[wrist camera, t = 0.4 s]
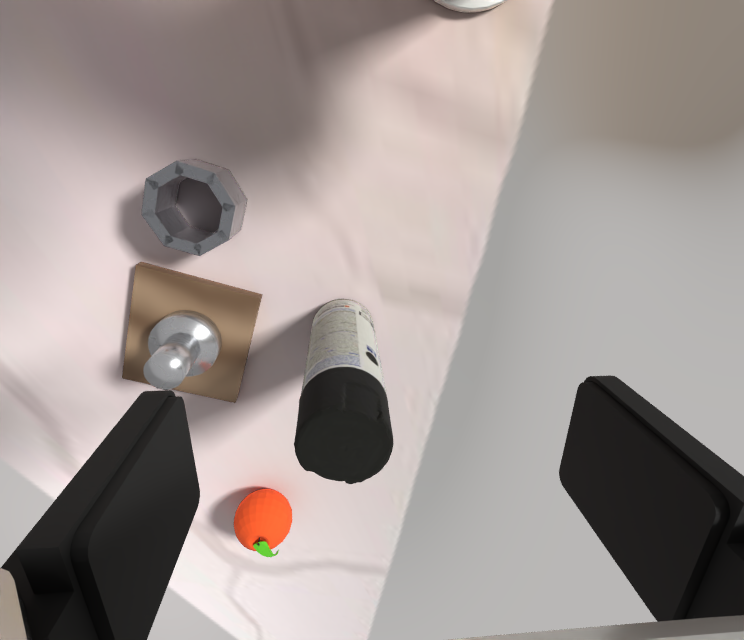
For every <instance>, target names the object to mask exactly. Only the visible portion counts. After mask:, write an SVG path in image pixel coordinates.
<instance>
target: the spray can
mask: <svg viewBox="0 0 744 640" xmlns="http://www.w3.org/2000/svg"><path fill="white" fill-rule="evenodd" d="M294 446H295V453H296V456H297V459H298V461H299V463H300V465H301V466H302V467H303V468H304V469H305V470H306V471H312V472H315V473H316V474H318V475H319V476H321V477H323V478H326V479H330V480H335V481H345V482H346V483H348V484H353V483H357V482H362V481H364V480H366V479H368V478H370V477H372V476H373V475H375V474H377V473H378V472H379V471H380V470H381V469H382V468H383V467H384V466H385V464H386V463H387V462H388V460H389V458H390V455H391V452H392V448H393V435H392V428H391V422H390V415H389V408H388V400H387V396H386V390H385V385H384V379H383V374H382V368H381V363H380V358H379V352H378V347H377V341H376V337H375V331H374V326H373V321H372V319H371V316H370V314H369V312H368V310H367V309H365V308H364V307H363V306H362V305H361V304H359V303H357V302H355V301H352V300H347V299H338V300H333V301H331V302H329V303H327V304H325V305H324V306H323V307H322V308H321V309H320V310H319V311H318V312H317V314H316V315H315V317H314V320H313V324H312V330H311V336H310V342H309V348H308V355H307V361H306V367H305V373H304V380H303V386H302V392H301V397H300V400H299V412H298V421H297V428H296V436H295V442H294Z"/></svg>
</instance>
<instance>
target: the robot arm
mask: <svg viewBox="0 0 744 640" xmlns="http://www.w3.org/2000/svg"><path fill="white" fill-rule="evenodd" d="M434 1H435V2H436V3H438V4H440V5H442V6H444V7H446V8H448V9H451V10H455V11H459V12H480V11H485V10H489V9H492V8H494V7H496V6H498V5H500V4H502V3H504V2H506V1H507V0H434ZM559 476H560V480H561V483H562V485H563V487H564V488H565V490H566V491H567V493H568V494H569V496H570V497H571V498H572V500H573V501H574V503H575V504H576V506H577V507H578V509H579V510H580V511H581V513H582V514H583V516H584V517H585V519H586V520H587V521H588V523H589V524H590V526H591V527H592V529H593V530H594V532H595V533H596V534H597V536H598V537H599V539H600V540H601V542H602V543H603V544H604V546H605V547H606V549H607V550H608V551H609V553H610V554H611V556H612V557H613V559H614V560H615V562H616V563H617V565H618V566H619V567H620V569H621V570H622V571H623V573H624V574H625V576H626V577H627V579H628V580H629V582H630V583H631V584H632V586H633V587H634V589H635V590H636V592H637V593H638V595H639V596H640V598H641V599H642V600H643V602H644V603H645V605H646V606H647V608H648V609H649V610H650V612H651V613H652V615H653V616H654V617H655V618H656V620H657V621H658V622H649V623H638V624H637V623H636V624H625V625H613V626H600V627H588V628H576V629H564V630H553V631H542V632H531V633H530V632H529V633H518V634H507V635H495V636H484V637H473V638H461V639H451V640H744V476H743V475H742V474H740V473H739V472H738V471H736V470H735V469H734V468H733V467H731V466H730V465H729V464H727V463H726V462H725V461H724V460H722V459H721V458H720V457H718V456H717V455H716V454H715V453H713V452H712V451H711V450H709V449H708V448H707V447H706V446H704V445H703V444H702V443H700V442H699V441H698V440H697V439H695V438H694V437H693V436H691V435H690V434H689V433H688V432H686V431H685V430H684V429H683V428H681V427H680V426H679V425H677V424H676V423H675V422H674V421H672V420H671V419H670V418H668V417H667V416H666V415H665V414H663V413H662V412H661V411H659V410H658V409H657V408H656V407H654V406H653V405H652V404H650V403H649V402H648V401H647V400H645V399H644V398H643V397H641V396H640V395H639V394H637V393H636V392H635V391H634V390H633V389H631V388H630V387H629V386H627V385H626V384H625V383H624V382H622V381H621V380H620V379H618V378H617V377H615V376H590V377H588V378H586V380H585V381H584V383H581V384H580V385H579V387H578V390H577V394H576V398H575V403H574V407H573V412H572V416H571V421H570V425H569V429H568V434H567V438H566V443H565V447H564V451H563V456H562V460H561V465H560V470H559ZM199 498H200V489H199V483H198V478H197V472H196V467H195V461H194V455H193V450H192V444H191V439H190V433H189V428H188V422H187V417H186V411H185V405H184V401H183V399H182V397H176V396H175V394H174V392H173V391H171V390H168V391H145V392H143V393H141V394H140V396H139V397H138V398H137V399H136V401H135V402H134V403H133V404H132V406H131V407H130V408H129V409H128V411H127V412H126V413H125V414H124V416H123V417H122V418H121V419H120V421H119V422H118V423H117V424H116V426H115V427H114V428H113V429H112V430H111V432H110V433H109V434H108V435H107V437H106V438H105V439H104V440H103V442H102V443H101V444H100V445H99V447H98V448H97V449H96V450H95V452H94V453H93V454H92V455H91V457H90V458H89V459H88V460H87V462H86V463H85V464H84V465H83V466H82V468H81V469H80V470H79V471H78V473H77V474H76V475H75V476H74V478H73V479H72V480H71V481H70V483H69V484H68V485H67V486H66V488H65V489H64V490H63V491H62V493H61V494H60V495H59V496H58V497H57V499H56V500H55V501H54V502H53V504H52V505H51V506H50V507H49V509H48V510H47V511H46V512H45V514H44V515H43V516H42V518H41V519H40V520H39V521H38V522H37V524H36V525H35V526H34V527H33V529H32V530H31V531H30V532H29V533H28V535H27V536H26V537H25V539H24V540H23V541H22V542H21V544H20V545H19V546H18V547H17V548H16V550H15V551H14V552H13V553H12V555H11V556H10V557H9V558H8V560H7V561H6V562H5V563H4V565H3V566H2V567H1V568H0V640H147V638H148V635H149V632H150V630H151V627H152V625H153V622H154V619H155V616H156V614H157V611H158V609H159V606H160V604H161V601H162V599H163V596H164V593H165V591H166V588H167V586H168V583H169V580H170V578H171V575H172V573H173V570H174V567H175V565H176V562H177V560H178V557H179V554H180V552H181V549H182V547H183V544H184V541H185V539H186V536H187V534H188V531H189V528H190V526H191V523H192V521H193V518H194V515H195V513H196V510H197V507H198V504H199Z"/></svg>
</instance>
